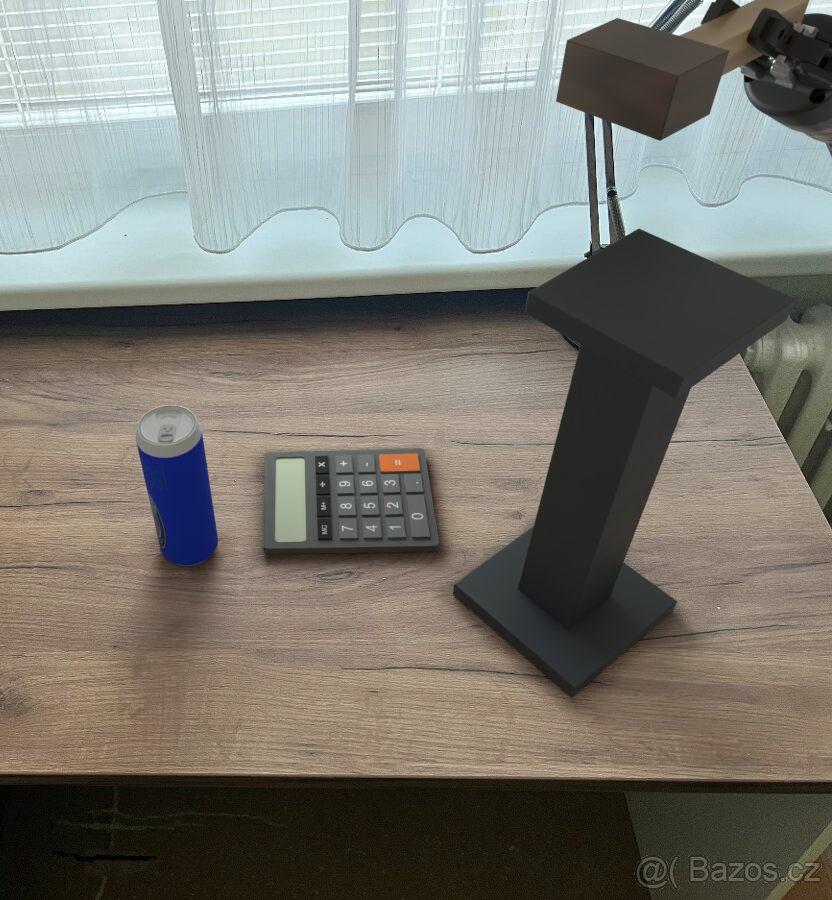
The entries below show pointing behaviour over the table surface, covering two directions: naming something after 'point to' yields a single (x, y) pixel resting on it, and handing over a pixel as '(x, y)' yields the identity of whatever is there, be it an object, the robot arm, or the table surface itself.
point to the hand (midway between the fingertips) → (737, 19)
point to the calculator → (348, 502)
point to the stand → (613, 447)
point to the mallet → (659, 68)
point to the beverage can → (177, 483)
